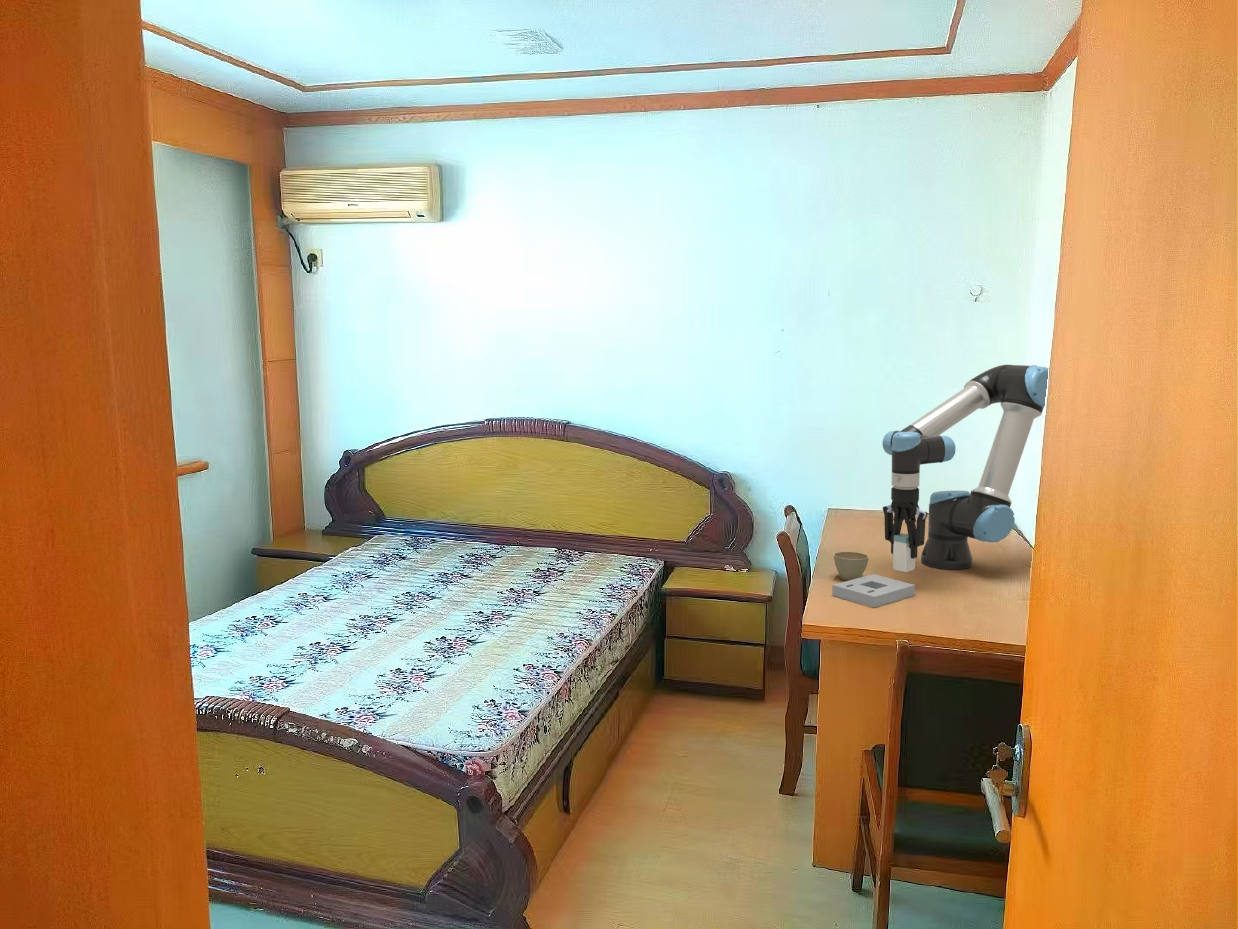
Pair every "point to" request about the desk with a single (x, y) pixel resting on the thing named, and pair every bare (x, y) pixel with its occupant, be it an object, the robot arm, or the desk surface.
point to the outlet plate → (873, 590)
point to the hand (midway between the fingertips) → (903, 567)
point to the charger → (901, 552)
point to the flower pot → (850, 564)
